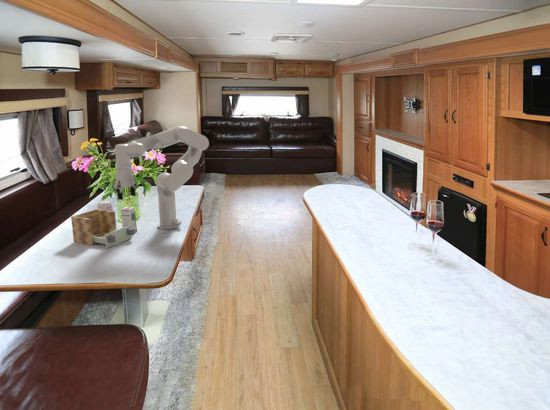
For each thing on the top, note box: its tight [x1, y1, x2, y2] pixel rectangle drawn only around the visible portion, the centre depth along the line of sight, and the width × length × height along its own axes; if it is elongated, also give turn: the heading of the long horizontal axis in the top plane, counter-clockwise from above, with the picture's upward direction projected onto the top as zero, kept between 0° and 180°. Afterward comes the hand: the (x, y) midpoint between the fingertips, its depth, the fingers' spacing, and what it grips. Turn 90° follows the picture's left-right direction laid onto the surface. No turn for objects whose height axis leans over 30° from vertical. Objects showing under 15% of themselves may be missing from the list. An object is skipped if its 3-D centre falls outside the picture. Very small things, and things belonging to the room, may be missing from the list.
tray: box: [93, 226, 135, 249], centre depth 266 cm, size 16×18×7 cm
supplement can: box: [97, 200, 114, 211], centre depth 293 cm, size 8×8×15 cm
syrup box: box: [120, 206, 138, 234], centre depth 282 cm, size 6×6×14 cm
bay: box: [70, 208, 117, 246], centre depth 271 cm, size 13×18×14 cm
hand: (126, 197), depth 279 cm, fingers open, 9 cm apart
